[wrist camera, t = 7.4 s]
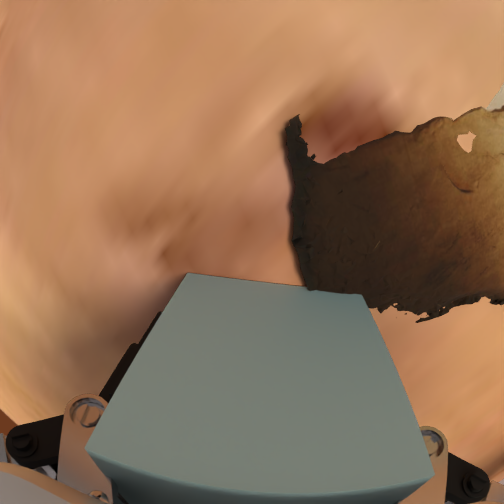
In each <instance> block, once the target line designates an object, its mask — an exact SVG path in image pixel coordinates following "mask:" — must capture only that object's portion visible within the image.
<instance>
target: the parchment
mask: <svg viewBox="0 0 504 504" xmlns="http://www.w3.org/2000/svg"><path fill="white" fill-rule="evenodd" d="M299 115H300V114H299ZM299 115H297V116H296V117H294V118H293V119H291V120H290V126H288V127H287V128H285V130H286V134H287V142H286V145H287V147H288V149H289V155H288V159H289V162H290V164H291V167H292V170H293V179H294V182H295V185H296V187H295V194H294V198H293V202H292V205H291V208H292V212H293V215H294V229H293V238H292V242H293V245H294V247H295V249H296V251H297V253H298V257H299V261H300V269H301V271H302V274H303V277H304V280H305V282H306V285H307V287H308V289H309V291H314V290H318V291H325V292H330V293H340V294H360V295H362V296H363V298H364V300H365V302H366V304H367V306H368V308H376V307H377V308H378V311H379V312H380V313H382V312H383V311H384V310H385V309H387V308H388V307H389V306H390V305H392V306H393V303H398V304H397V305H395V306H393V307H394V308H397V311H410V312H413V313H414V314H417V313H418V314H417V315H420V314H422V313H423V312H427V315H429V316H430V317H427V318H420V319H419V320H418V321H416V323H419V322H422V321H427V320H430V319H433V318H436V317H440V316H442V315H444V314H446V313H448V312H449V310H450V309H451V308H453V307H455V306H460V305H464V304H473V303H475V302H478V301H479V300H480V299H481V297H484V296H486V297H487V298H489V299H491V301H490V302H489V303H491V304H495V305H497V304H500V305H503V304H504V83H503V85H502V87H501V89H500V90H499V92H498V93H497V94H496V95H495V97H494V98H493V100H492V101H491V103H490V104H489V106H488V107H487V108H482V107H478V108H474V109H471V110H469V111H468V112H466V113H464V114H463V115H461V116H460V117H458V118H457V119H455V120H454V121H453V120H452V118H448V117H436V118H433V119H431V120H429V121H428V122H426V123H424V124H421V125H417V126H416V128H415V129H414V130H413V131H412V132H411V133H404V132H399V131H394V132H393V133H391V134H388V135H386V136H385V137H383V138H380V139H377V140H373V141H371V142H368V143H366V144H363V145H360V146H358V147H357V148H356V149H355V150H353V151H350V152H348V153H345V152H344V153H342V154H341V155H339V156H338V157H337V158H334V159H331V160H329V161H328V162H326V163H325V164H321V163H317V162H315V161H313V160H314V158H315V157H316V156H315V154H313V155H312V156H311V158H312V159H313V160H312V159H311V158H310V157H308V156H307V152H308V148H307V145H308V144H307V142H306V143H305V141H304V140H303V139H302V138H301V137H299V136H300V135H301V129H300V128H301V127H302V123H301V122H300V120H299V117H298V116H299ZM469 131H470V132H471V133H473V134H475V135H477V136H476V137H475V138H474V140H473V144H472V151H471V152H469V153H467V152H466V151H464V150H463V149H462V148H461V146H460V145H459V143H458V142H457V137H458V135H460V134H468V132H469ZM442 307H445V308H444V309H443V308H442ZM439 310H440V311H439ZM405 314H407V313H405Z"/></svg>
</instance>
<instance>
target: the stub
mask: <svg viewBox="0 0 504 504" xmlns="http://www.w3.org/2000/svg"><path fill="white" fill-rule="evenodd" d="M85 450H86V451H87V453H88V454H89V455H90V457H91V458H92V460H93V461H94V462H95V464H96V465H97V466H98V468H99V469H100V470H101V472H102V473H103V474H104V475H106V476H109V477H111V478H112V479H113V480H114V482H115V483H116V484H117V486H118V492H119V493H120V495H121V496H122V497H123V498H124V499H125V500H126V501H127V502H128V503H129V504H394V503H395V502H397V501H398V500H401V499H405V498H407V497H408V496H410V495H411V494H412V493H413V492H415V491H416V490H417V489H419V488H420V487H421V486H422V485H424V484H425V483H426V482H427V481H428V480H430V479H431V478H432V477H433V476H434V475H435V473H434V470H433V466H432V463H431V460H430V457H429V454H428V451H427V448H426V445H425V442H424V439H423V436H422V433H421V431H420V428H419V425H418V422H417V420H416V417H415V414H414V412H413V409H412V406H411V404H410V401H409V399H408V396H407V394H406V391H405V389H404V386H403V384H402V381H401V379H400V377H399V374H398V372H397V369H396V367H395V365H394V363H393V360H392V358H391V356H390V353H389V351H388V349H387V347H386V344H385V342H384V340H383V338H382V336H381V334H380V331H379V329H378V327H377V325H376V323H375V321H374V319H373V317H372V315H371V312H370V310H369V308H368V306H367V304H366V302H365V300H364V298H363V296H362V295H360V294H340V293H330V292H325V291H318V290H314V291H309V289H308V287H303V286H294V285H284V284H275V283H266V282H258V281H249V280H241V279H233V278H225V277H217V276H209V275H201V274H194V273H187V274H186V276H185V278H184V279H183V281H182V282H181V284H180V285H179V287H178V288H177V290H176V292H175V293H174V295H173V296H172V298H171V300H170V301H169V303H168V304H167V306H166V307H165V309H164V311H163V312H162V314H161V315H160V317H159V319H158V320H157V322H156V324H155V325H154V327H153V328H152V330H151V332H150V333H149V335H148V337H147V338H146V340H145V342H144V343H143V345H142V347H141V348H140V350H139V352H138V353H137V355H136V357H135V358H134V360H133V362H132V363H131V365H130V367H129V369H128V370H127V372H126V374H125V375H124V377H123V379H122V381H121V382H120V384H119V386H118V388H117V389H116V391H115V393H114V395H113V396H112V398H111V400H110V402H109V403H108V405H107V407H106V409H105V411H104V412H103V414H102V416H101V418H100V420H99V422H98V423H97V425H96V427H95V429H94V431H93V433H92V435H91V436H90V438H89V440H88V442H87V444H86V446H85Z"/></svg>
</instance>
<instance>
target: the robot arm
mask: <svg viewBox="0 0 504 504" xmlns="http://www.w3.org/2000/svg"><path fill="white" fill-rule="evenodd" d="M161 314H162V312H159V313H158V314H157V315H156V317H155V318H154V320H153V321H152V323H151V325H150V326H149V328H148V329H147V331H146V333H145V334H144V336H143V337H142V339H141V341H140V342H139V344H136V343H133V344H131V345H130V347H129V348H128V350H127V351H126V353H125V354H124V356H123V357H122V359H121V361H120V362H119V364H118V365H117V367H116V369H115V370H114V372H113V373H112V375H111V377H110V378H109V380H108V381H107V383H106V385H105V386H104V388H103V390H102V391H101V393H100V394H99V396H97V395H94V394H82V395H79V396H76V397H75V398H73V399H72V400H70V402H69V403H68V404H67V406H66V409H65V412H64V415H60V416H56V417H52V418H48V419H44V420H40V421H36V422H32V423H27V424H23V425H19V426H16V427H14V428H13V429H12V430H11V431H10V432H9V434H8V435H7V436H4V434H0V504H129V503H128V502H127V501H126V500H125V499H124V498H123V497H122V496H121V495H120V493H119V492H118V486H117V484H116V483H115V482H114V480H113V479H112V478H111V477H109V476H106V475H104V474H103V473H102V472H101V470H100V469H99V468H98V466H97V465H96V464H95V462H94V461H93V460H92V458H91V457H90V455H89V454H88V453H87V451H86V450H85V446H86V444H87V442H88V440H89V438H90V436H91V435H92V433H93V431H94V429H95V427H96V425H97V423H98V422H99V420H100V418H101V416H102V414H103V412H104V411H105V409H106V407H107V405H108V403H109V402H110V400H111V398H112V396H113V395H114V393H115V391H116V389H117V388H118V386H119V384H120V382H121V381H122V379H123V377H124V375H125V374H126V372H127V370H128V369H129V367H130V365H131V363H132V362H133V360H134V358H135V357H136V355H137V353H138V352H139V350H140V348H141V347H142V345H143V343H144V342H145V340H146V338H147V337H148V335H149V333H150V332H151V330H152V328H153V327H154V325H155V324H156V322H157V320H158V319H159V317H160V315H161ZM419 428H420V431H421V433H422V436H423V439H424V442H425V445H426V448H427V451H428V454H429V457H430V460H431V463H432V466H433V470H434V473H435V475H434V476H433V477H432V478H431V479H430V480H428V481H427V482H426V483H425V484H424V485H422V486H421V487H420V488H419V489H417V490H416V491H415V492H413V493H412V494H411V495H410V496H408V497H407V498H405V499H401V500H398V501H397V502H395V503H394V504H504V485H502V484H500V483H498V482H496V481H491V482H490V480H489V478H488V475H487V474H486V473H485V472H484V471H483V470H482V469H480V468H478V467H476V466H474V465H472V464H470V463H468V462H466V461H464V460H462V459H460V458H459V457H457V456H455V455H453V454H451V453H449V452H448V443H447V439H446V437H445V436H444V434H443V433H442V432H441V431H439V430H438V429H436V428H434V427H430V426H422V427H419Z"/></svg>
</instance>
